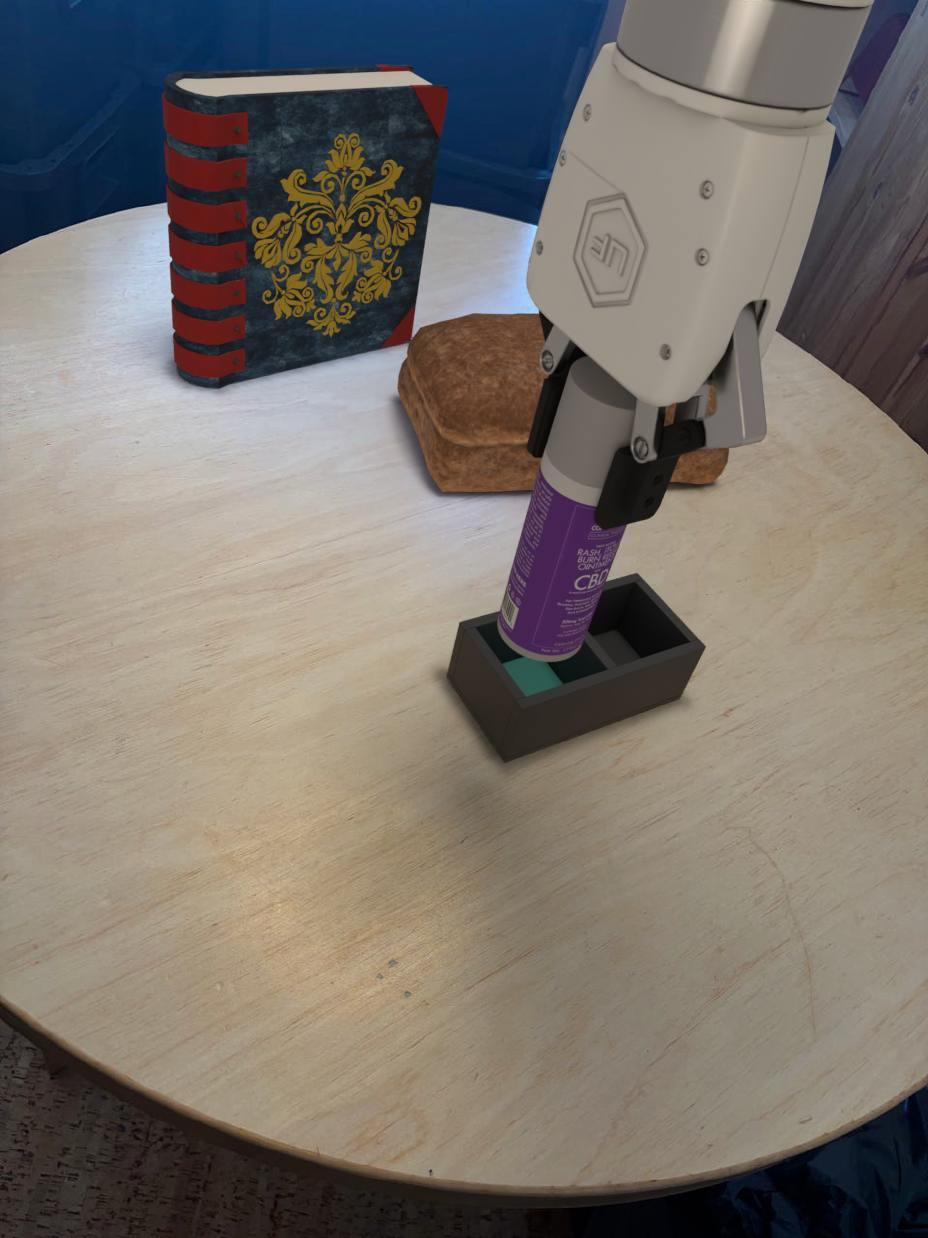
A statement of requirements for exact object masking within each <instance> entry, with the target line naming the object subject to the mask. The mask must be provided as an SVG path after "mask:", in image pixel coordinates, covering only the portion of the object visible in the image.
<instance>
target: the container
mask: <svg viewBox="0 0 928 1238" xmlns="http://www.w3.org/2000/svg"><path fill="white" fill-rule="evenodd" d="M636 401H637V397H635V396H634V395H633V394H631V393H630V392H629V391H628V390H627V389H626V388H624V387H623V386H622V385H621V384H620V383H619V382H617V381H616V380H615V379H614V378H613V377H612V376H611V375H609V374H608V373H607V372H606V371H605V370H604V369H603V368H601V367H600V366H599V365H598V364H597V363H596V362H595V361H594V360H593V359H591V358H590V357H589V356H585V357H582V358H580V359H578V360H577V361H575V362H574V363H573V364H572V366H571V368H570V371H569V374H568V377H567V380H566V384H565V387H564V390H563V393H562V396H561V400H560V403H559V406H558V409H557V413H556V416H555V419H554V422H553V425H552V429H551V432H550V435H549V438H548V442H547V445H546V448H545V451H544V454H543V457H542V460H541V463H540V467H539V471H538V474H537V478H536V481H535V485H534V489H533V490H532V493H531V496H530V500H529V504H528V507H527V510H526V515H525V518H524V521H523V524H522V525H523V526H522V529H521V533H520V536H519V540H518V543H517V547H516V551H515V554H514V558H513V560H512V561H513V562H512V565H511V569H510V573H509V575H508V579H507V583H506V587H505V590H504V593H503V598H502V601H501V605H500V609H499V611H500V612H499V616H498V621H497V625H498V630H499V633H500V635H501V637H502V639H503V640H504V641H505V643H506V644H507V645H508V646H509V647H510V648H512V649H513V650H514V651H516V652H517V653H519V654H521V655H523V656H525V657H527V658H530V659H533V660H537V661H543V662H556V661H561V660H565V659H568V658H570V657H571V656H573V655H574V654H576V653H577V652H578V650H579V649H580V647H581V645H582V643H583V640H584V638H585V635H586V633H587V630H588V627H589V625H590V622H591V619H592V617H593V614H594V611H595V609H596V606H597V603H598V601H599V598H600V596H601V593H602V590H603V588H604V585H605V582H606V581H608V577H609V575H610V571H611V569H612V566H613V564H614V561H615V558H616V555H617V553H618V550H619V547H620V545H621V543H622V540H623V537H624V534H625V532H626V529H627V526H628V524H627V525H623V526H620V527H616V528H612V529H608V530H602V529H601V528H600V527H599V526H598V525H597V524H596V523H595V522H594V518H595V517H594V514H595V511H596V508H597V505H598V502H599V499H600V496H601V493H602V490H603V487H604V484H605V481H606V478H607V476H608V473H609V470H610V467H611V464H612V461H613V458H614V455H615V453H616V451H617V450H618V449H620V448H622V447H627V446H631V437H632V430H633V423H634V416H635V409H636ZM667 409H668V406H667ZM667 409H666V412H667Z"/></svg>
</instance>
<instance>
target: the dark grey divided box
mask: <svg viewBox="0 0 928 1238" xmlns="http://www.w3.org/2000/svg"><path fill="white" fill-rule="evenodd" d="M499 612H500V610H498V611H495V612H491V613H488V614H483V615H480V616H477V617H472V618H469V619H466V620H462V621H459V622H458V626H457V630H456V634H455V639H454V643H453V648H452V651H451V656H450V660H449V664H448V668H447V672H446V679H447V680H448V681H449V682H450V685H451V687H453V689H454V691H455V692H456V693H457V695H458V696H459V698H460V699H461V701H462V702H463V704H464V705H465V706H466V708H467V709H468V711H469V712H470V713H471V715H472V716H473V718H474V719H475V721H476V722H477V724H478V725H479V727H480V729H481V730H482V731H483V733H484V734H485V736H486V738H487V739H488V740H489V741H490V743H491V744H492V746H493V747H494V749H495V750H496V752H497V753H498V755H499V756H500V758H501V759H502V760H503V762H504V763H507V762H509V761H512V760H516V759H517V758H521V757H523V756H526V755H529V754H532V753H534V752H537V751H539V750H543V749H545V748H548V747H550V746H551V747H552V746H553V745H557V744H559V743H561V742H564V741H567V740H569V739H573V738H575V737H577V736H580V735H583V734H586V733H589V732H591V731H594V730H597V729H600V728H603V727H605V726H608V725H612V724H614V723H616V722H619V721H622V720H625V719H627V718H630V717H632V716H635V715H638V714H640V713H641V714H642V713H643V712H646V711H649V710H652V709H654V708H657V707H660V706H662V705H666V704H668V703H671V702H674V701H676V700H679V699H681V698H682V697H683V693H684V691H686V690H685V689H686V688H687V686H688V684H689V682H690V680H691V678H692V676H693V674H694V673H695V670H696V669H697V666H698V664H699V662H700V660H701V658H702V656H703V654H704V652H705V650H706V648H707V646H706V645H705V643H704V642H702V640H701V639H699V637H698V636H697V635H696V634H695V633H694V632H693V631H692V630H691V629H690V628H689V626H688V625H687V624H686V623H685V622H684V621H683V620H682V619H681V618H680V617H679V616H678V614H676V613H675V611H674V610H673V609H672V608H671V607H670V605H669V604H667V603H666V602H665V601H664V599H663V598H662V597H661V596H660V595H659V594H658V593H657V592H656V591H655V590H654V589H653V588H652V587H651V585H650V584H649V583H648V582H646V580H645V579H644V578H643V577H642V576H641V575H640V574H639V573H638V572H635V573H631V574H628V575H623V576H620V577H617V578H613V579H609V580H606V582H605V585H604V588H603V590H602V593H601V596H600V598H599V601H598V603H597V606H596V609H595V611H594V614H593V617H592V619H591V622H590V625H589V627H588V630H587V633H586V635H585V638H584V640H583V643H582V645H581V647H580V649H579V650H578V652H577V653H576V654H574V655H573V656H571V657H570V658H568V659H565V660H561V661H556V662H543V661H537V660H533V659H530V658H527V657H525V656H523V655H521V654H519V653H517V652H516V651H514V650H513V649H512V648H510V647H509V646H508V645H507V644H506V643H505V641H504V640H503V639H502V637H501V635H500V633H499V630H498V625H497V621H498V616H499Z"/></svg>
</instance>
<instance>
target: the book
mask: <svg viewBox="0 0 928 1238" xmlns="http://www.w3.org/2000/svg"><path fill="white" fill-rule="evenodd" d="M413 70H414V66H413V65H411V64H410V63H409V64H375V65H356V66H355V65H354V66H330V67H329V66H325V67H321V66H320V67H297V68H296V67H295V68H292V67H291V68H265V69H239V70H209V71H208V70H207V71H181V70H180V71H178V70H177V71H174V72H171V73H169V74H167V75H166V76H165V78H164V92H163V93H162V94H161V96H162V97H161V98H162V100H161V101H162V118H163V119H162V120H163V128H164V130H165V132H166V138H165V139H164V140H163V143H164V146H163V147H164V162H165V163H164V164H165V173H166V175H167V177H168V181H167V182H166V183H165V189H166V191H165V192H166V208H167V215H168V218H169V219H170V220H169V221H170V222H169V223H168V224H167V231H168V236H167V237H168V253H169V257H170V258H171V261H170V262H169V276H170V277H169V278H170V294H172V298H171V299H170V303H171V321H172V329H173V330H174V332H173V333H172V347H173V362H174V364H176V366H175V367H176V371H177V374H178V376H179V377H180V378H181V379H182V380H183V381H185V382H187V383H189V384H191V385H193V386H197V387H203V388H208V389H221V388H223V387H225V386H228V385H230V384H235V383H239V382H243V381H248V380H252V379H257V378H260V377H264V376H270V375H274V374H277V373H281V372H286V371H291V370H294V369H299V368H302V367H307V366H312V365H315V364H319V363H325V362H329V361H332V360H333V361H334V360H337V359H341V358H345V357H350V356H354V355H358V354H362V353H367V352H371V351H375V350H381V349H386V348H389V347H390V348H391V347H394V346H395V347H396V346H399V345H400V346H401V345H403V344H406V343H409V342H410V341H411V340H412V338H413V331H414V323H415V315H416V309H417V301H418V294H419V288H420V287H419V286H420V280H421V274H422V273H421V272H422V266H423V261H424V260H423V259H424V252H425V246H426V239H427V233H428V232H427V231H428V225H429V218H430V212H431V204H432V198H433V193H434V185H435V177H436V170H437V164H438V157H439V151H440V142H441V136H442V131H443V126H444V121H445V115H446V110H447V104H448V99H449V91H448V88H449V86H448V85H446V84H445V83H438V84H437V83H436V84H433V83H431V82H429V81H427V80H426V79H424V78H422V77H421V76H419V75H417V74H415V73H414V71H413Z"/></svg>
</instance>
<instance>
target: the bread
mask: <svg viewBox="0 0 928 1238" xmlns="http://www.w3.org/2000/svg"><path fill="white" fill-rule="evenodd" d="M544 344H545V339H544V335H543V330H542V326H541V321H540V317H539V312H537V313H535V312H534V313H531V312H530V313H526V312H525V313H524V312H523V313H521V312H520V313H519V312H518V313H483V312H482V313H481V312H480V313H479V312H473V313H470V314H466V315H462V316H458V317H455V318H450V319H445V320H441V321H438V322H435V323H434V322H433V323H431V324H427V325H424V326H421V327H419V328H418V330H417V331H416V333H415V334H414V335H413V336H412V338H411V341H409V342H408V345H407V350H406V355H407V356H406V357H405V359H404V360H403V362H402V363H401V366H400V369H399V372H398V377H397V391H398V395H399V399H400V401H401V403H402V405H403V407H404V409H405V412H406V414H407V416H408V418H409V420H410V422H411V424H412V426H413V429H414V431H415V434H416V437H417V439H418V442H419V445H420V449H421V452H422V455H423V457H424V460H425V464H426V467H427V470H428V472H429V474H430V477H431V478H432V480H433V481H434V482H435V483H436V485H437V486H438V487H439V489H440V490H441V492H467V493H470V492H471V493H472V492H474V493H475V492H476V493H478V492H479V493H480V492H483V493H484V492H513V491H514V492H516V491H533V489H534V485H535V481H536V478H537V474H538V471H539V467H540V463H541V460H542V458H534V457H533V456H532V455H531V454H530V453H529V452H528V451H527V449H526V447H527V443H528V439H529V435H530V431H531V428H532V424H533V420H534V416H535V412H536V409H537V405H538V401H539V397H540V393H541V390H542V386H543V382H544V378H548V375H547V374H545V373H544V372H543V371H542V369H541V367H540V361H539V357H540V353H541V350H542V348H543V346H544ZM675 409H676V403H673V404H671V405H669V406H668V409H667V412H666V416H665V422H664V426H667V425H671V424H673V421H674V415H675ZM715 409H716V397H715V388H714V386H713V385H711V386H710V392H709V397H708V403H707V409H706V414H705V416H708V415H712V414H713V413H714V412H715ZM729 456H730V448H723V449H709V450H706V449H704V450H698V451H695V452H691V453H687V454H683V455H680V458H679V460H678V463H677V465H676V468H675V470H674V473H673V475H672V478H671V480H670V483H684V484H694V485H704V484H710V483H711V484H712V483H714V482H715V481H716V480H717V479H718V478H719V477H720V476H721V475H723V473H724V470H725V469H726V466H727V465H728V463H729Z"/></svg>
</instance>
